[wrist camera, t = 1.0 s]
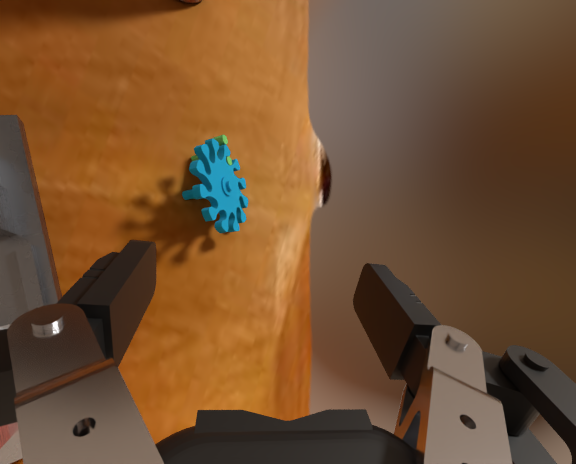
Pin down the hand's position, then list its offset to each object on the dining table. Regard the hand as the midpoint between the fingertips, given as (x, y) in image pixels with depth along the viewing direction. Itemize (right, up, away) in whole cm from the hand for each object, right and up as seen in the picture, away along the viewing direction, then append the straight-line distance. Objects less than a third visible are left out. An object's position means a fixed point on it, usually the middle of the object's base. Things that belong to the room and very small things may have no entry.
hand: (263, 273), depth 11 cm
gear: (-8, +6, +23) cm, 25 cm away
